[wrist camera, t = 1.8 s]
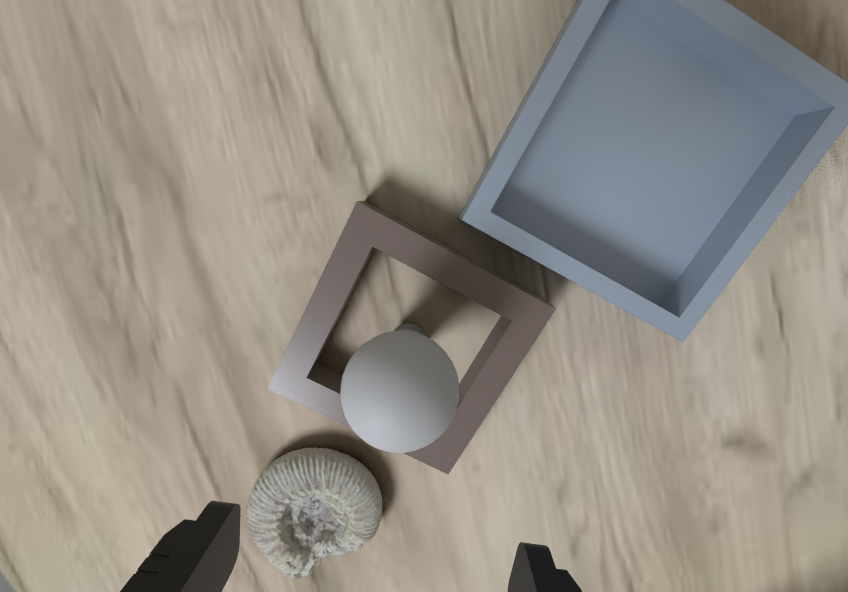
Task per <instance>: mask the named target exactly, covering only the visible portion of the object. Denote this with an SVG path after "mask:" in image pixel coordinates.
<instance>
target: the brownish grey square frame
mask: <svg viewBox="0 0 848 592" xmlns="http://www.w3.org/2000/svg"><path fill="white" fill-rule="evenodd" d="M374 248H376V249H378V250H379V251H381V252H383V253H385V254H387V255H389V256H391V257H393V258H395V259H396V260H398V261H400V262H402V263H404V264H406V265H408V266H410V267H411V268H413V269H415V270H417V271H419V272H421V273H423V274H425V275H427V276H428V277H430V278H432V279H434V280H436V281H438V282H440V283H442V284H444V285H445V286H447V287H449V288H451V289H453V290H455V291H457V292H459V293H460V294H462V295H464V296H466V297H468V298H470V299H472V300H474V301H476V302H477V303H479V304H481V305H483V306H485V307H487V308H489V309H491V310H493V311H494V312H496V313H498V314H500V315H502V316H501V317H500V319H499V320H498V322H497V324H496V325H495V327H494V329H493V330H492V332H491V333H490V335H489V337H488V338H487V340H486V342H485V343H484V345H483V346H482V348H481V350H480V351H479V353H478V355H477V356H476V358H475V359H474V361H473V363H472V364H471V366H470V368H469V369H468V371H467V372H466V374H465V376H464V377H463V379H462V381H461V382H460V384H459V401H458V405H457V409H456V413H455V415H454V417H453V419H452V421H451V423H450V425H449V426H448V427H447V429H446V430H445V431H444V433H443V434H442V435H441V436H440V437H439V438H438V439H436V440H435V441H434V442H432V443H431V444H429V445H427V446H425V447H423V448H421V449H418V450H415V451H411V452H405V453H404V454H406V455H409V456H411V457H413V458H415V459H417V460H419V461H421V462H423V463H425V464H427V465H430V466H432V467H434V468H436V469H438V470H440V471H442V472H444V473H446V474H449V472H450V471H451V469H452V468H453V466H454V465H455V463H456V462H457V460H458V459H459V457H460V455H461V454H462V452H463V451H464V449H465V448H466V446H467V445H468V443H469V442H470V440H471V439H472V437H473V435H474V434H475V432H476V431H477V429H478V428H479V426H480V425H481V423H482V422H483V420H484V419H485V417H486V415H487V414H488V412H489V411H490V409H491V408H492V406H493V405H494V403H495V402H496V400H497V399H498V397H499V395H500V394H501V392H502V391H503V389H504V388H505V386H506V385H507V383H508V382H509V380H510V378H511V377H512V375H513V374H514V372H515V371H516V369H517V368H518V366H519V365H520V363H521V362H522V360H523V358H524V357H525V355H526V354H527V352H528V351H529V349H530V348H531V346H532V345H533V343H534V342H535V340H536V338H537V337H538V335H539V334H540V332H541V331H542V329H543V328H544V326H545V325H546V323H547V322H548V320H549V318H550V317H551V315H552V314H553V312H554V311H555V308H554V307H553V306H552V305H551V304H550V303H549V302H548V301H546V300H545V299H544V298H542V297H540V296H538V295H537V294H535V293H533V292H531V291H529V290H527V289H526V288H524V287H522V286H520V285H518V284H516V283H515V282H513V281H511V280H509V279H507V278H505V277H503V276H502V275H500V274H498V273H496V272H494V271H492V270H491V269H489V268H487V267H485V266H483V265H481V264H480V263H478V262H476V261H474V260H472V259H470V258H468V257H467V256H465V255H463V254H461V253H459V252H457V251H456V250H454V249H452V248H450V247H448V246H446V245H444V244H443V243H441V242H439V241H437V240H435V239H433V238H432V237H430V236H428V235H426V234H424V233H422V232H421V231H419V230H417V229H415V228H413V227H411V226H409V225H408V224H406V223H404V222H402V221H400V220H398V219H397V218H395V217H393V216H391V215H389V214H387V213H385V212H384V211H382V210H380V209H378V208H376V207H374V206H373V205H371V204H369V203H367V202H365V201H357V203H356V205H355V207H354V209H353V211H352V213H351V215H350V217H349V219H348V221H347V223H346V226H345V228H344V230H343V232H342V234H341V236H340V238H339V240H338V242H337V244H336V246H335V249H334V251H333V253H332V255H331V257H330V259H329V261H328V263H327V265H326V267H325V269H324V272H323V274H322V276H321V278H320V280H319V282H318V284H317V286H316V288H315V290H314V293H313V295H312V297H311V299H310V301H309V303H308V305H307V307H306V309H305V311H304V313H303V316H302V318H301V320H300V322H299V324H298V326H297V328H296V330H295V332H294V334H293V336H292V339H291V341H290V343H289V345H288V347H287V349H286V351H285V353H284V355H283V357H282V359H281V362H280V364H279V366H278V368H277V370H276V372H275V374H274V376H273V378H272V380H271V382H270V385H269V387H268V389H270V390H272V391H274V392H276V393H278V394H280V395H282V396H284V397H286V398H288V399H291V400H293V401H295V402H297V403H299V404H301V405H303V406H305V407H307V408H310V409H312V410H314V411H316V412H318V413H320V414H322V415H324V416H326V417H329V418H331V419H333V420H335V421H337V422H339V423H341V424H343V425H345V426H347V427H350V425H349V423H348V421H347V420H346V418H345V414H344V411H343V407H342V404H341V393H340V391H341V382H342V376H343V375H342V374H339V373H337V372H335V371H333V370H331V369H329V368H327V367H325V366H323V365H321V364H319V363H317V361H318V360H319V358H320V356H321V354H322V352H323V350H324V348H325V346H326V344H327V342H328V340H329V338H330V336H331V334H332V332H333V330H334V328H335V326H336V324H337V322H338V320H339V318H340V316H341V314H342V312H343V310H344V308H345V306H346V304H347V302H348V300H349V298H350V296H351V294H352V292H353V290H354V288H355V286H356V284H357V282H358V280H359V278H360V276H361V274H362V272H363V270H364V268H365V266H366V264H367V262H368V260H369V258H370V256H371V254H372V252H373V250H374ZM350 428H351V427H350Z"/></svg>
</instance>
